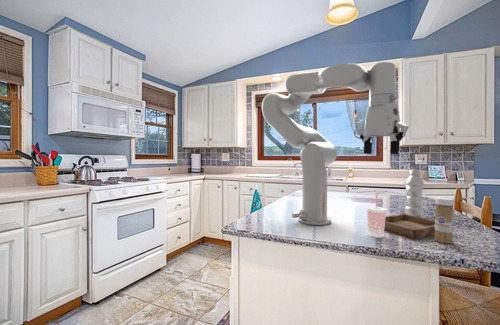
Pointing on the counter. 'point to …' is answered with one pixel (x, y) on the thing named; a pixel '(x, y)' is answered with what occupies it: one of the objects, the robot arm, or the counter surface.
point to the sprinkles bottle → (444, 219)
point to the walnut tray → (409, 226)
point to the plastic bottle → (414, 194)
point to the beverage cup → (376, 220)
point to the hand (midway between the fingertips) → (380, 153)
